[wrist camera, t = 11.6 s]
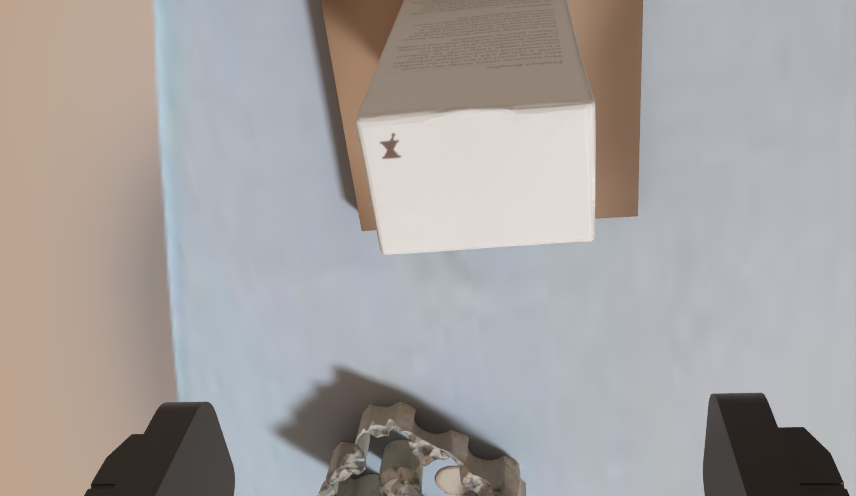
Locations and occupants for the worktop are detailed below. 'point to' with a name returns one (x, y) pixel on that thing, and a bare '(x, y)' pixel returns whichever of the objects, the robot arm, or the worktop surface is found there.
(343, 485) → the egg carton
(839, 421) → the worktop surface
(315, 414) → the worktop surface
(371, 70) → the wooden board
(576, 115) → the skincare box
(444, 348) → the worktop surface
